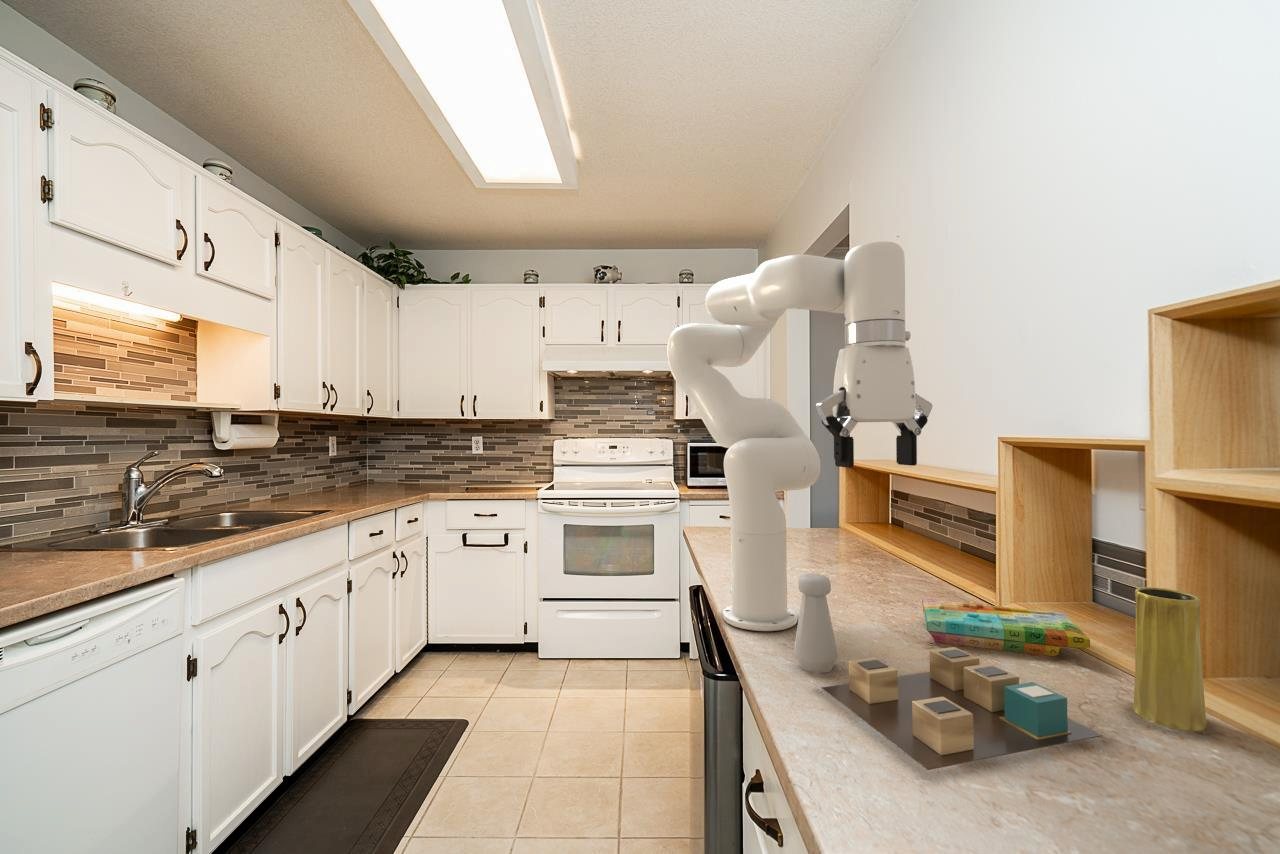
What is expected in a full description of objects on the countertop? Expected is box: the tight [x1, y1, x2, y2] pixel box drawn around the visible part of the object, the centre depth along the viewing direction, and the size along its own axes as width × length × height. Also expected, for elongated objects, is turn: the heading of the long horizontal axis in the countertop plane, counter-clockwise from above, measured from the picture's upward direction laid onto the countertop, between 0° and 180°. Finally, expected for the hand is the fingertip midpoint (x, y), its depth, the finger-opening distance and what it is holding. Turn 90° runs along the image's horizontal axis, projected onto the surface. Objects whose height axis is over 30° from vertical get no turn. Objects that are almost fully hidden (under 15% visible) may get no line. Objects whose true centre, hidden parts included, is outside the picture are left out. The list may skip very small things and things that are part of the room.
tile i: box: [928, 646, 981, 691], centre depth 72 cm, size 4×4×4 cm
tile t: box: [963, 662, 1020, 712], centre depth 67 cm, size 4×4×4 cm
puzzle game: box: [921, 598, 1091, 657], centre depth 87 cm, size 12×5×20 cm
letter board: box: [820, 671, 1103, 771], centre depth 65 cm, size 18×22×1 cm
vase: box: [1132, 586, 1208, 732], centre depth 63 cm, size 6×6×14 cm
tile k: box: [912, 697, 974, 755], centre depth 59 cm, size 4×4×4 cm
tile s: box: [1004, 681, 1069, 737], centre depth 61 cm, size 4×4×4 cm
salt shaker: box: [793, 572, 839, 674], centre depth 78 cm, size 6×6×13 cm
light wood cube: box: [848, 656, 899, 704], centre depth 69 cm, size 4×4×4 cm
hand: (875, 465), depth 76 cm, fingers open, 9 cm apart
